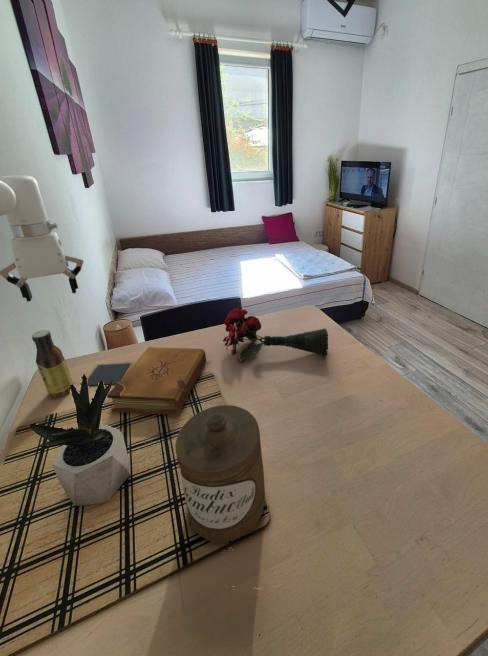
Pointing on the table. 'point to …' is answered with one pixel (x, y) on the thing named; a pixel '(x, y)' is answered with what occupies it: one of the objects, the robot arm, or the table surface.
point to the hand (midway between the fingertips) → (52, 295)
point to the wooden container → (222, 472)
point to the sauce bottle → (51, 364)
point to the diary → (158, 381)
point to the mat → (107, 374)
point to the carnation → (250, 325)
